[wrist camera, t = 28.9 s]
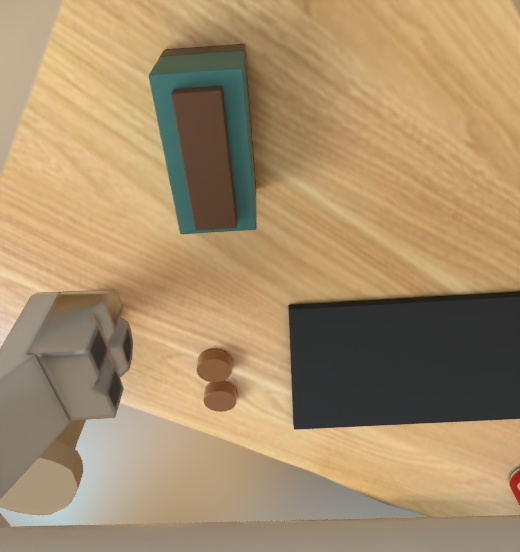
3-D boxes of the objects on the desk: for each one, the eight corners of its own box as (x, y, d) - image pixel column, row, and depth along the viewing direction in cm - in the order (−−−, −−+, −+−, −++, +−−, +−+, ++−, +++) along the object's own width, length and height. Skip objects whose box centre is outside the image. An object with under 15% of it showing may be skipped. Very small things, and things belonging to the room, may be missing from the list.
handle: (60, 322, 39) (-24, 504, 27) (79, 266, 36) (-8, 446, 24) (117, 341, 41) (61, 521, 29) (141, 288, 37) (88, 469, 25)
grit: (233, 379, 44) (233, 389, 43) (239, 399, 46) (238, 410, 45) (201, 382, 44) (200, 392, 43) (208, 402, 46) (207, 413, 45)
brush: (244, 43, 26) (242, 72, 22) (256, 189, 32) (256, 237, 27) (163, 49, 27) (144, 79, 22) (189, 194, 32) (178, 242, 28)
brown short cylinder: (230, 348, 41) (230, 358, 40) (233, 371, 43) (232, 382, 42) (196, 349, 41) (194, 359, 40) (199, 372, 43) (198, 382, 42)
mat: (595, 287, 37) (600, 292, 37) (537, 412, 47) (539, 417, 47) (288, 304, 38) (289, 309, 38) (293, 424, 48) (293, 429, 48)
